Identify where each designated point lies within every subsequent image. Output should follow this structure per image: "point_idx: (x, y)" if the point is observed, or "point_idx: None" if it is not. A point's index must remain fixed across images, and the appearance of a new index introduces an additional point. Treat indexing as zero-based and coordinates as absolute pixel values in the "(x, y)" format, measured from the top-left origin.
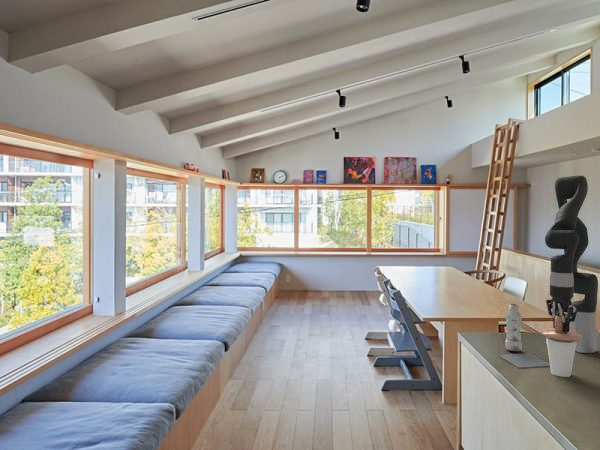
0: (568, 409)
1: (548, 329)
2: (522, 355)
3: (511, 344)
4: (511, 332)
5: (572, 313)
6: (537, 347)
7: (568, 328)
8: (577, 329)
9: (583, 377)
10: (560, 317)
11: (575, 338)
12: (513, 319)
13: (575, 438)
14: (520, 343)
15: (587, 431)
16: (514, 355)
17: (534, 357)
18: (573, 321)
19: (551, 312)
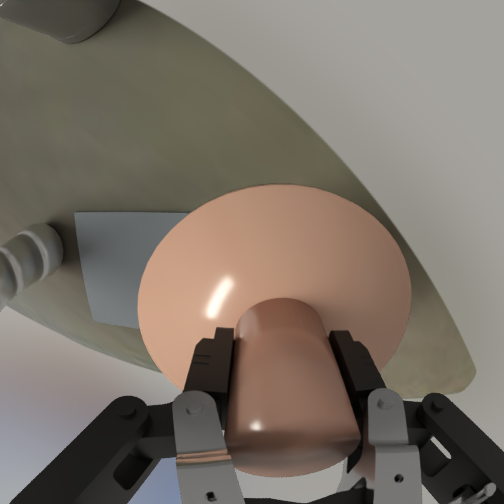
0: (427, 359)
1: (190, 361)
2: (93, 252)
3: (49, 274)
4: (20, 291)
5: (470, 474)
6: (33, 143)
7: (367, 364)
8: (45, 6)
9: (318, 183)
10: (327, 467)
11: (404, 319)
12: None
13: (461, 386)
14: (44, 244)
15: (466, 366)
16: (93, 278)
17: (111, 224)
18: (436, 398)
19: (150, 462)
